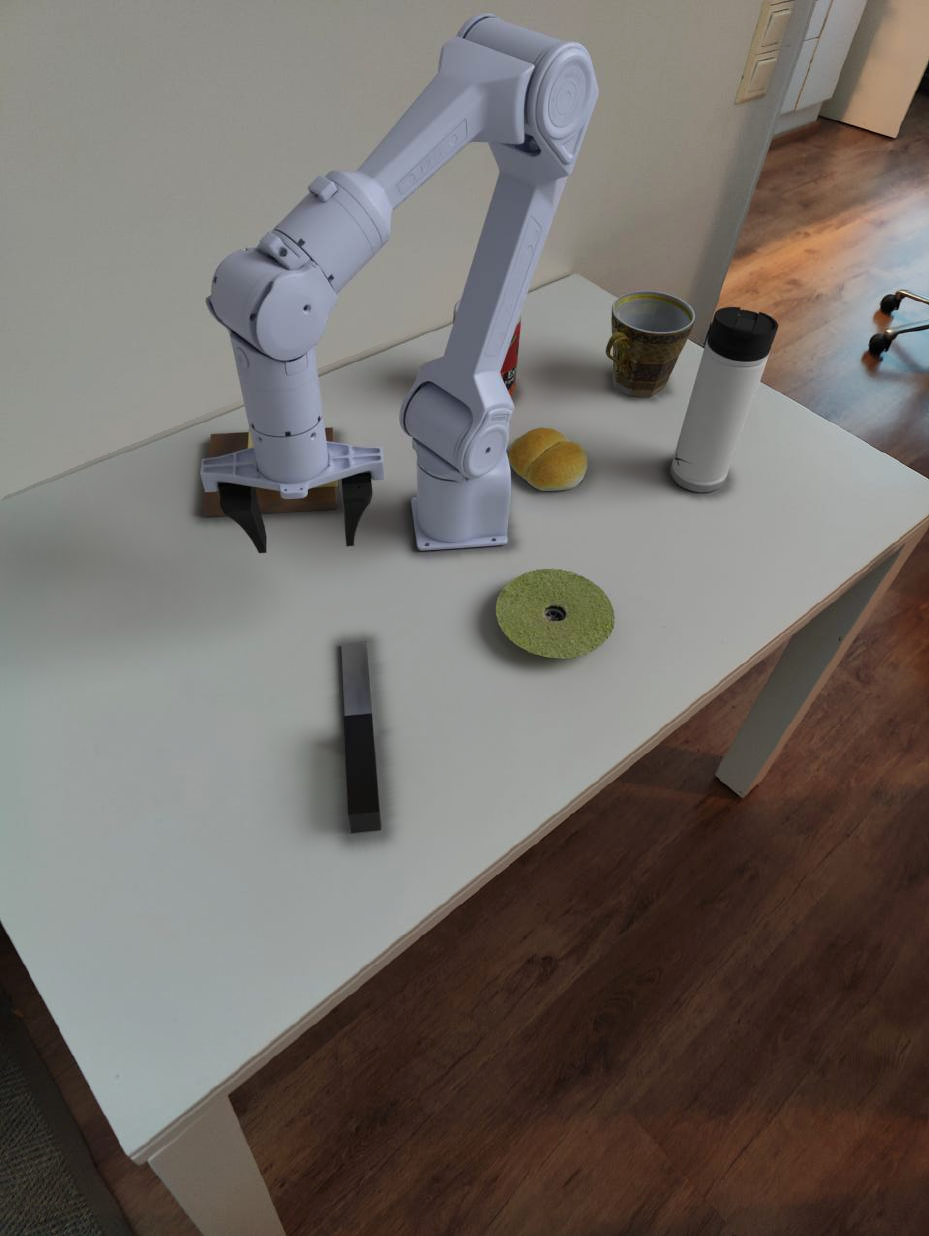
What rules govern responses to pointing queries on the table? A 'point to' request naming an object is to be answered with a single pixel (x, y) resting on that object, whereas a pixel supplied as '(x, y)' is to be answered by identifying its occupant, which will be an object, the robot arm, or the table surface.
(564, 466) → the bread roll
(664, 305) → the ceramic cup
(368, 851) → the table surface
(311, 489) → the butter board
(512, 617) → the green abrasive disc
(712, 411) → the travel mug
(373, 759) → the two-tone black bar
